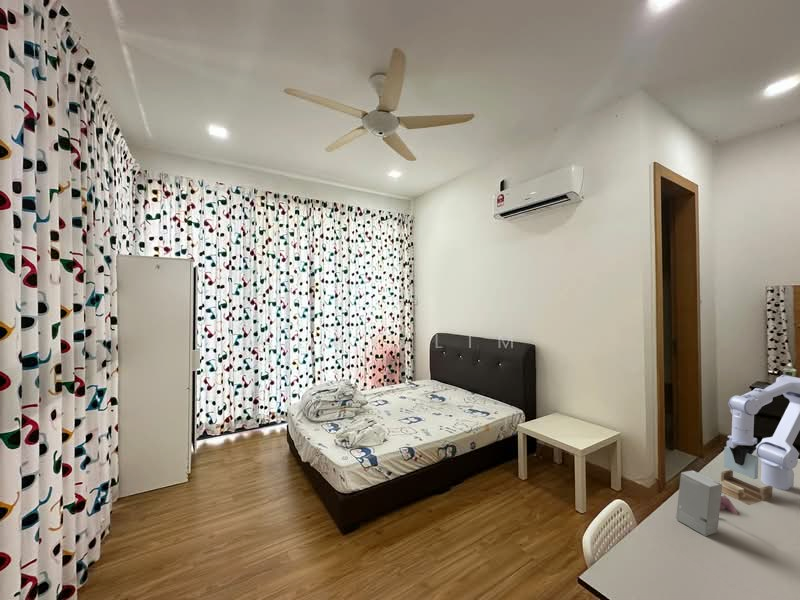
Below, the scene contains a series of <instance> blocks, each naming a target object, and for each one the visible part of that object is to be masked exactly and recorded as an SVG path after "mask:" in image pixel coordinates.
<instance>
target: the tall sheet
mask: <svg viewBox="0 0 800 600" xmlns="http://www.w3.org/2000/svg"><path fill="white" fill-rule="evenodd" d="M723 450H724V451H723V452H724V454H723V455H724V457H723V467H724V468H726V469H728V470H732V471H733V472H736V473H738V474H740V475H743V476H745V477H748V478H750V479H753V480H756V479H759V457H758V456H757V455H754V454H753V453H752V454H749V453H747V454H746V457H745V461H744V464H743V465H739V464H736V463H735V461H734V457H733V454H732V451H731V449H730V448H729V447H728V446H727V445H726V446H724V449H723Z"/></svg>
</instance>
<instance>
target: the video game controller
mask: <svg viewBox="0 0 800 600" xmlns="http://www.w3.org/2000/svg"><path fill="white" fill-rule="evenodd" d="M726 509H727V510H728V511H729V512H731V513H732V514H733V515H736V516H739V513H738V510H737V509H736V508H735V506H734V504H733V502H732V501H731V500H730V499H729V498H728V497H727V496H726V494H724V495H723V493H721V502H720V510H726Z"/></svg>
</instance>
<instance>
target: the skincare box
mask: <svg viewBox="0 0 800 600" xmlns="http://www.w3.org/2000/svg"><path fill="white" fill-rule="evenodd" d="M719 482H720V481H719ZM719 482H718V481H716V480H714V479H712V478H710V477H709V476H707V475H705V474H704V475H703V474H701V473H700V472H698V471H696V470H687V471H682V472H681V473H680V478H679V487H678V489H679V490H678V497H677V499H678V500H677V507H676V515H675V516H676V517H675V518H676V520H677V521H678V522H680V523H681V524H684V526H685V525H686V526H687V527H689V528H691V529H692V530H695V531H696V532H698V533H699V534H701V535H702V536H704V537H707V536H710V535H713V534H715V533H716V534H717V533H718V530H719V529H718V528H719V519H720V510H721V509H720V502H721V494H723V493H722V484H721V483H719Z"/></svg>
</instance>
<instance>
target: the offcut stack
mask: <svg viewBox="0 0 800 600" xmlns="http://www.w3.org/2000/svg"><path fill="white" fill-rule="evenodd" d="M719 483H721V484H722V492H724V493H726V494H728V495H730V496H729V497H731V496H732V497H731V498H733V497H734V498H733V499H735V498H737V499H741V498H745V494H744V489H743V488H741V487H739V486H736V485H734V484H732V483H729V482H727V481H725V480H724V481H721V480H720V481H719ZM724 493H723V494H724ZM726 494H725V495H726ZM728 495H727V496H728ZM737 499H736V500H737Z"/></svg>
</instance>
